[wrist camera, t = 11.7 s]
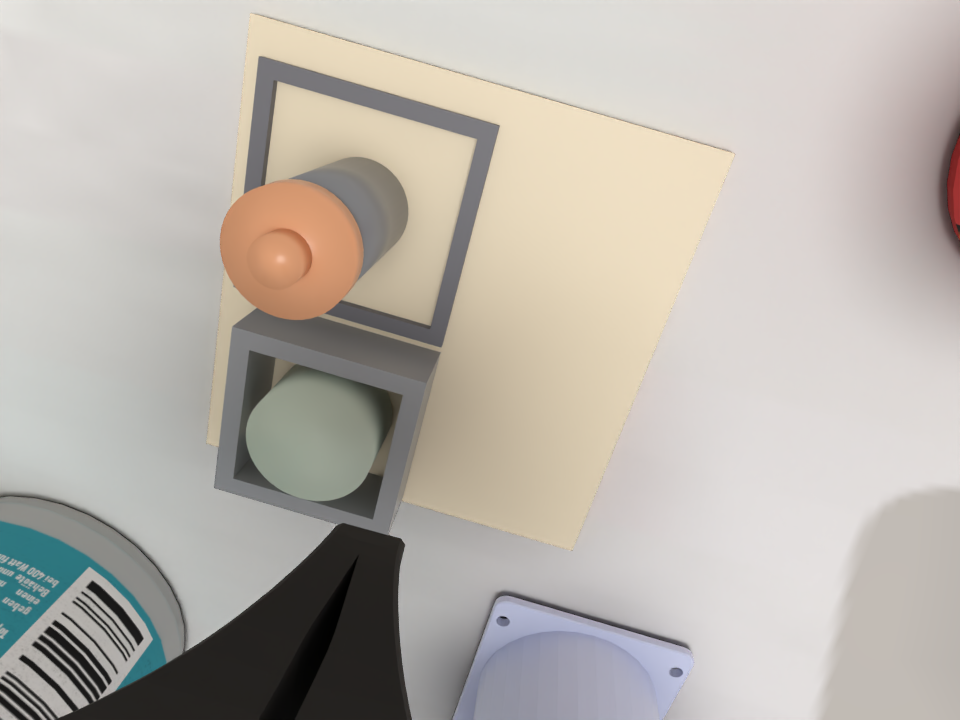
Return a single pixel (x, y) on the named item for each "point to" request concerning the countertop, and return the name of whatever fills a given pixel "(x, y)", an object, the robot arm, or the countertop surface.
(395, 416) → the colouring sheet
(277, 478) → the button
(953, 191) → the canned food
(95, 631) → the food can
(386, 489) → the button housing
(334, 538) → the robot arm
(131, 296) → the countertop surface
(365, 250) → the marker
